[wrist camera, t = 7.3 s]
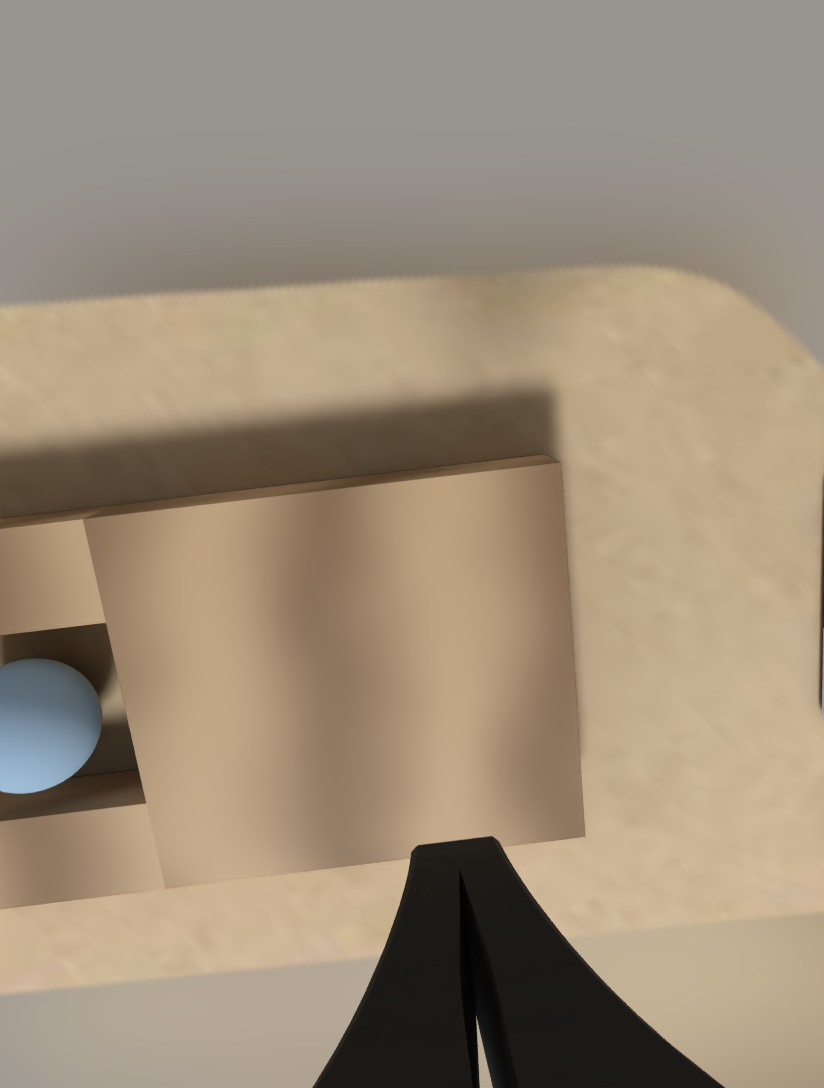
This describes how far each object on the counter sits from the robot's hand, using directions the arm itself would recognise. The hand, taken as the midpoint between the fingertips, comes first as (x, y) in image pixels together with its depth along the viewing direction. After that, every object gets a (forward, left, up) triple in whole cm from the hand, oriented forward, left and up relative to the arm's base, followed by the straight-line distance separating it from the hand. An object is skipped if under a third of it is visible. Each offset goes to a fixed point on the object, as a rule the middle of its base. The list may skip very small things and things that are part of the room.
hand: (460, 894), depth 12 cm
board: (+7, 0, -10) cm, 13 cm away
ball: (+11, 0, -9) cm, 14 cm away
